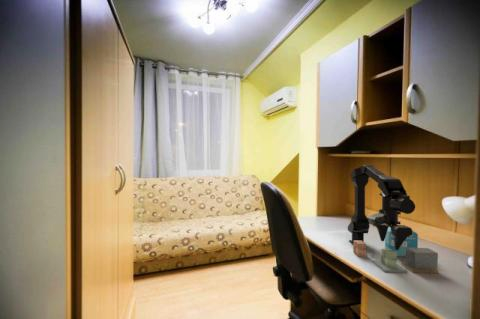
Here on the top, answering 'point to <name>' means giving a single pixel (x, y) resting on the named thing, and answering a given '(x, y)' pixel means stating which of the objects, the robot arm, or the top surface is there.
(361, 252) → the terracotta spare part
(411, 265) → the mounted unit
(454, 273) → the top surface
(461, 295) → the top surface
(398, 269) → the pad
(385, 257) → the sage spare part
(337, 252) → the top surface
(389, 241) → the data package
